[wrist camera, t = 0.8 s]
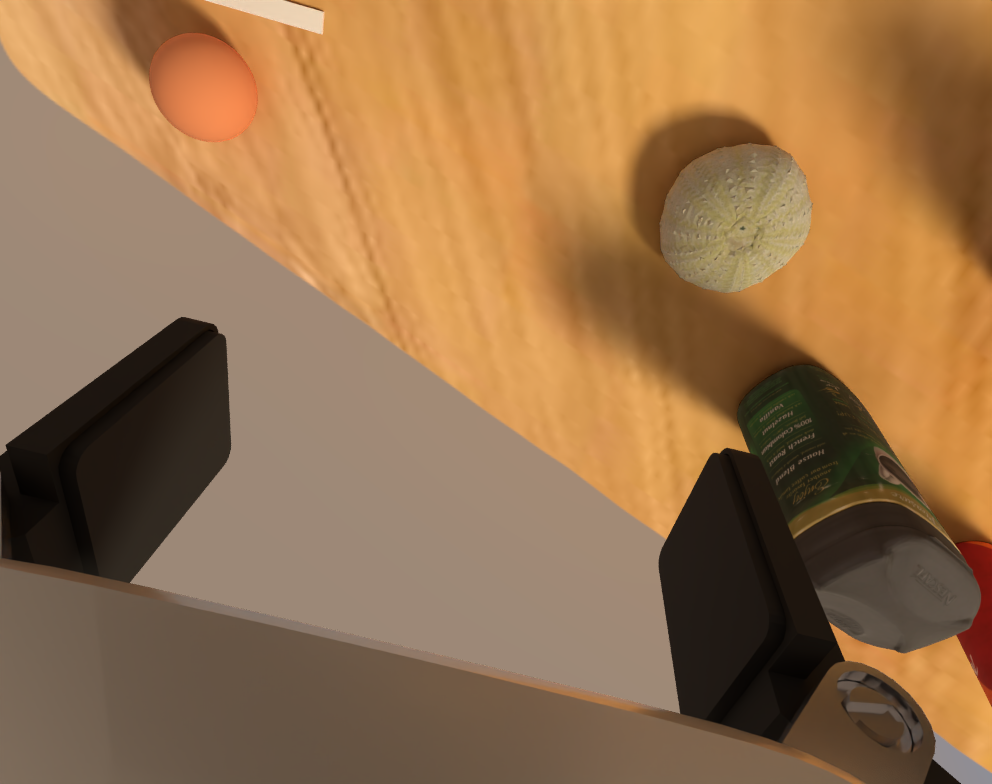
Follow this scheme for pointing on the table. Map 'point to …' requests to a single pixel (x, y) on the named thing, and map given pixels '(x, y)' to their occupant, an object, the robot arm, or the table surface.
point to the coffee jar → (856, 514)
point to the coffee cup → (980, 614)
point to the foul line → (280, 12)
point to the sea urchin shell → (735, 217)
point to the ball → (203, 87)
